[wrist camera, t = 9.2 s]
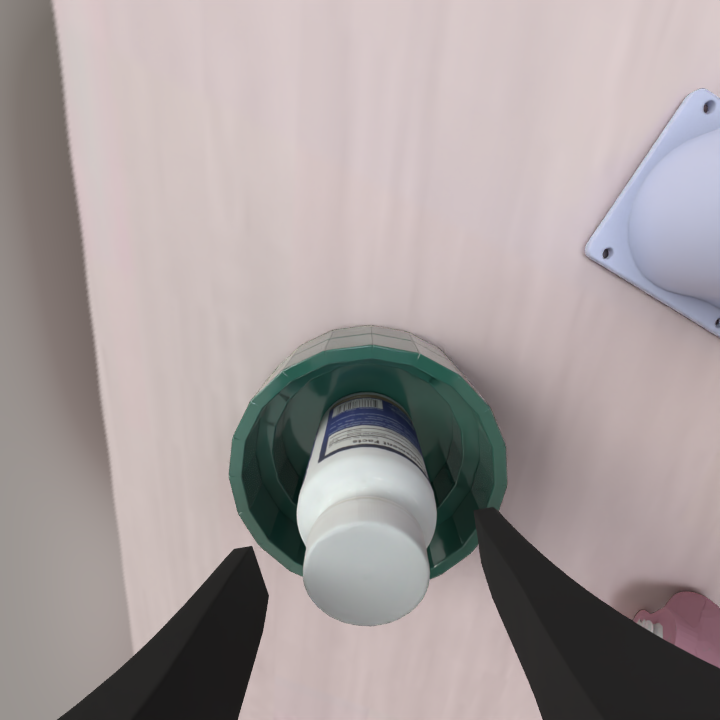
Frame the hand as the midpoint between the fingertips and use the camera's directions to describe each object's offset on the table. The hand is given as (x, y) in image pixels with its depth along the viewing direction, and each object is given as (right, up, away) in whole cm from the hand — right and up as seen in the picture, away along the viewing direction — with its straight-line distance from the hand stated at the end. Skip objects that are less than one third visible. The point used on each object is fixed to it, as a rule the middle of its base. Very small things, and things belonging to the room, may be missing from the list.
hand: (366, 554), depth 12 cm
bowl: (0, +2, +10) cm, 10 cm away
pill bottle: (0, +2, +9) cm, 10 cm away
